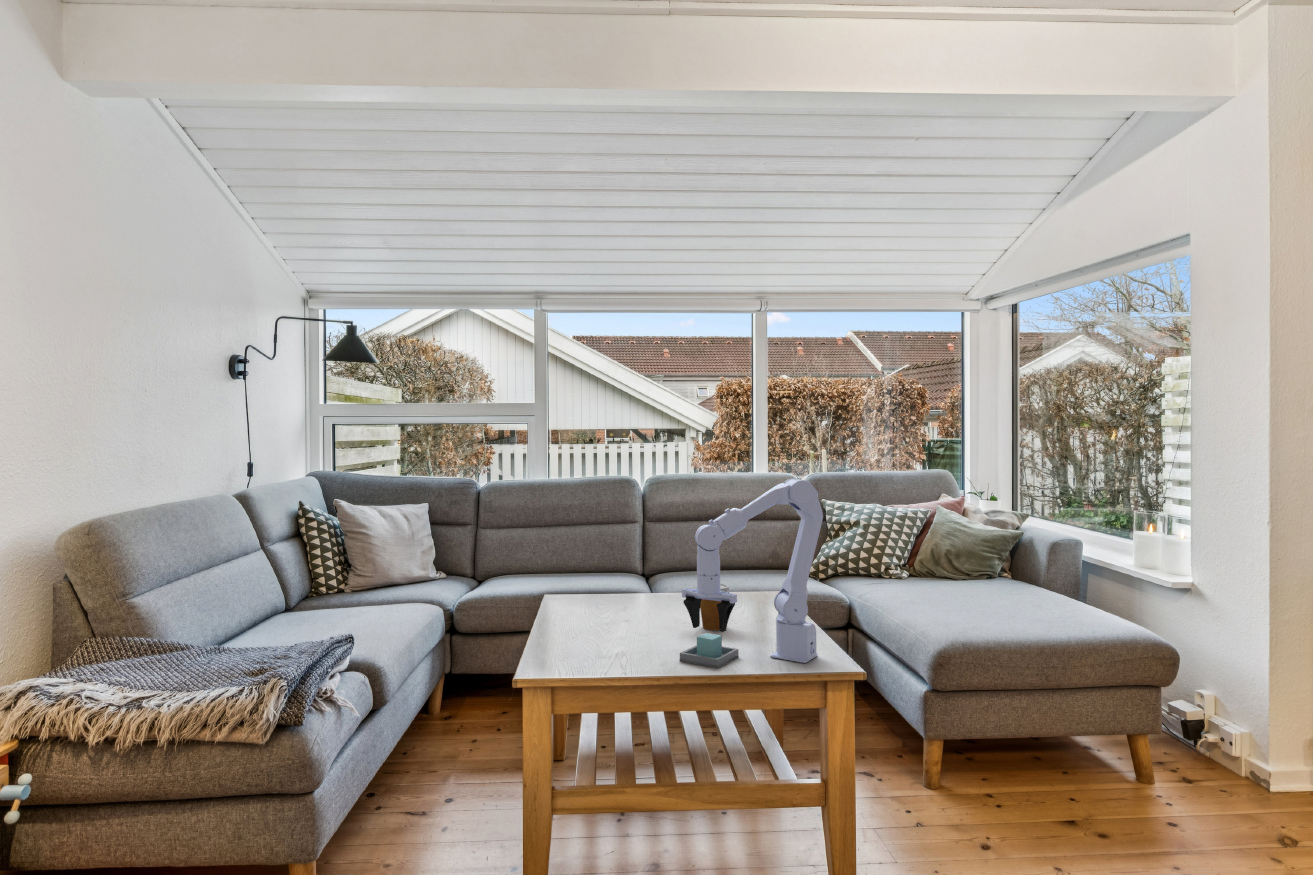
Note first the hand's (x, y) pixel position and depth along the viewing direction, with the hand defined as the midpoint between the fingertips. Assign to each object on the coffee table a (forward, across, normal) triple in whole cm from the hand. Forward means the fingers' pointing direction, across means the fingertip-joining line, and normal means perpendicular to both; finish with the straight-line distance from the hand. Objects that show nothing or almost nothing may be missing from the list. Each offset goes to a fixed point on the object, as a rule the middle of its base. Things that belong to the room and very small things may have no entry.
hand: (709, 629), depth 177 cm
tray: (+7, 0, 0) cm, 7 cm away
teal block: (+7, 0, 0) cm, 7 cm away
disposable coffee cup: (+8, -14, +27) cm, 31 cm away
